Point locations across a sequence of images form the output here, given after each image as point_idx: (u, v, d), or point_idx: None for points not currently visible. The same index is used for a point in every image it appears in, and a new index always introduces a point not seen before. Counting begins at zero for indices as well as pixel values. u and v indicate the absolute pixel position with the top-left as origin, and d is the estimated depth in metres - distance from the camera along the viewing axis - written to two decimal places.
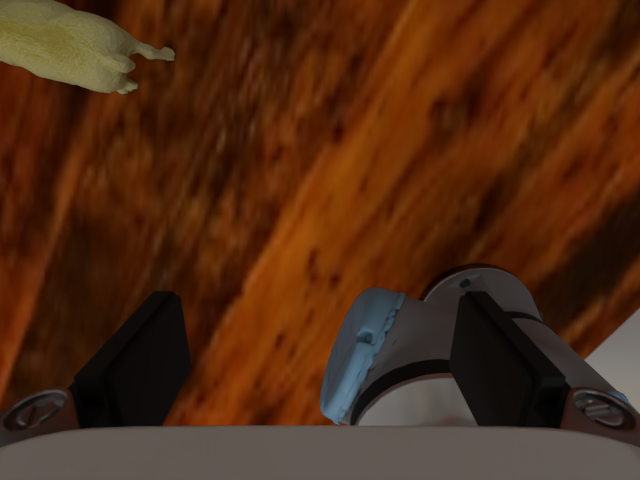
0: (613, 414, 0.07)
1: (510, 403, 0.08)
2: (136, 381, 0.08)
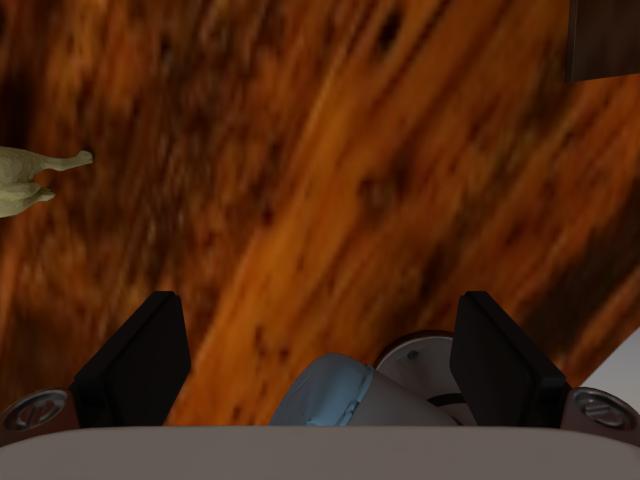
0: (613, 414, 0.07)
1: (510, 403, 0.08)
2: (136, 381, 0.08)
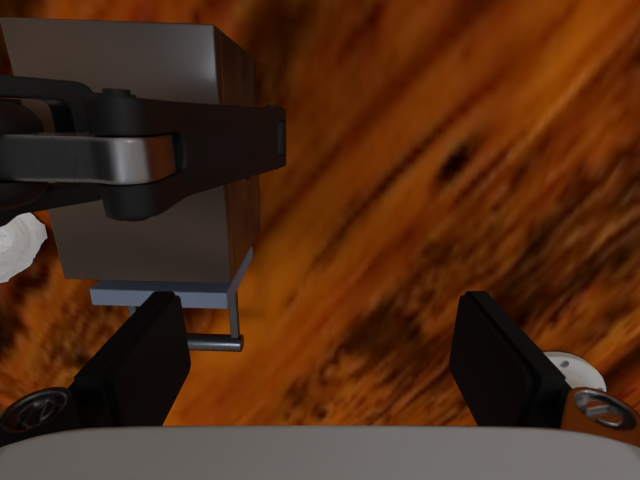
0: (613, 414, 0.07)
1: (510, 403, 0.08)
2: (136, 381, 0.08)
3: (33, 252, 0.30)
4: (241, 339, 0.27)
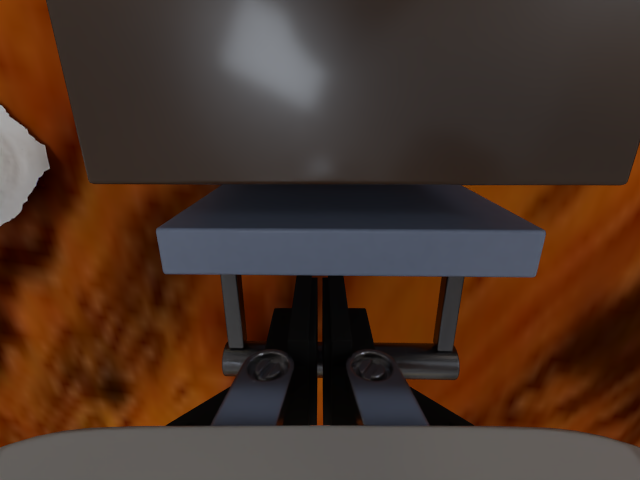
0: (376, 365, 0.08)
1: None
2: None
3: (23, 192, 0.15)
4: None
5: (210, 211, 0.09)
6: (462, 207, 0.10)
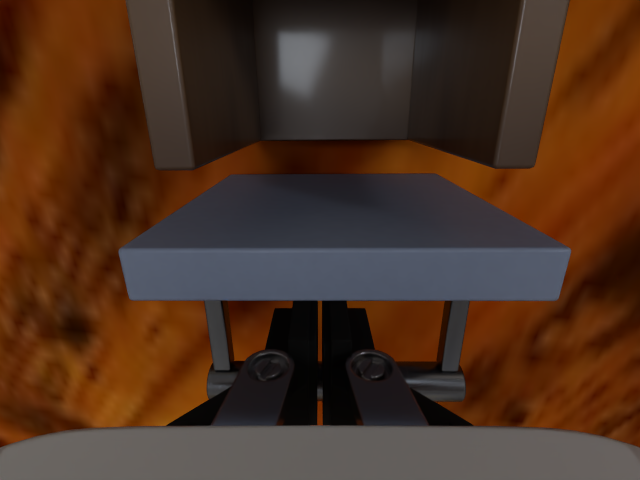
0: (376, 365, 0.08)
1: None
2: None
3: None
4: None
5: (185, 225, 0.08)
6: (471, 218, 0.09)
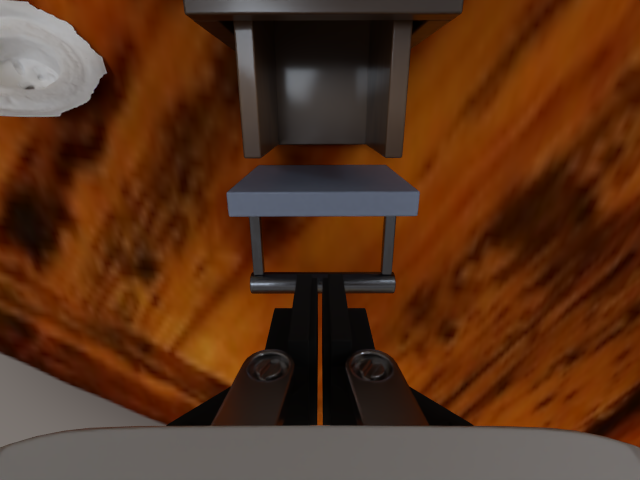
0: (376, 365, 0.08)
1: None
2: None
3: (90, 87, 0.21)
4: None
5: (250, 185, 0.17)
6: (386, 183, 0.18)
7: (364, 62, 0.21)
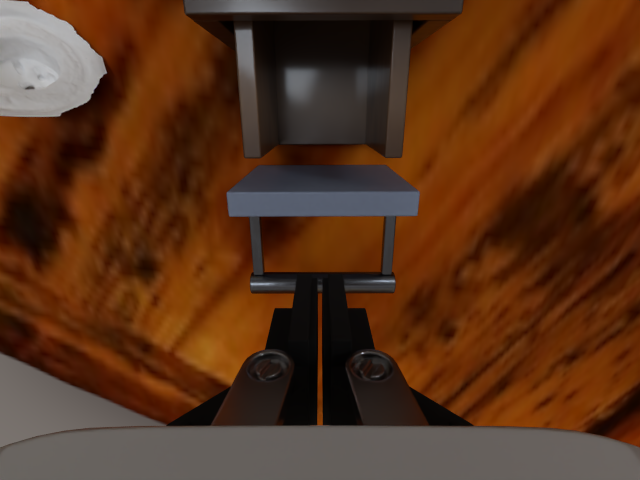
0: (376, 365, 0.08)
1: None
2: None
3: (90, 87, 0.21)
4: None
5: (250, 185, 0.17)
6: (386, 183, 0.18)
7: (364, 62, 0.21)
